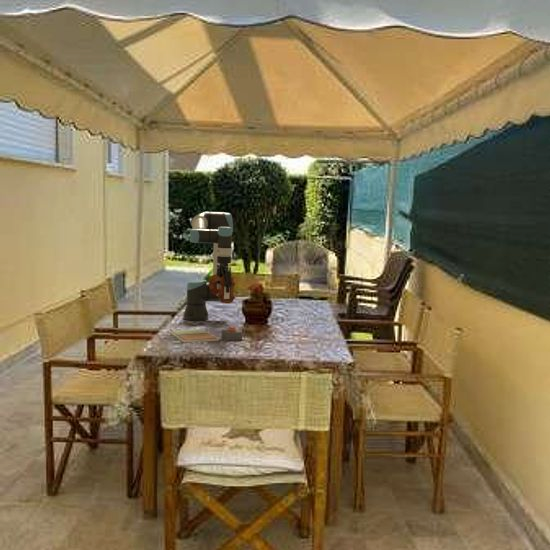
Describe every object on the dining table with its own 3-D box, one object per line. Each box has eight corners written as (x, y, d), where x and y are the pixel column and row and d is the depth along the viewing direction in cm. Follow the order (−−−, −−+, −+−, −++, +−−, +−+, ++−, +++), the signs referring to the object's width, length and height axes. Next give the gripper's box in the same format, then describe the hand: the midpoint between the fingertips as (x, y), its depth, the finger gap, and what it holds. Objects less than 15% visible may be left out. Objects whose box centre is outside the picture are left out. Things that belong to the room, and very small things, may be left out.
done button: (227, 333, 332) (227, 326, 332) (233, 332, 334) (233, 326, 334) (229, 334, 329) (230, 327, 329) (236, 334, 331) (236, 327, 330)
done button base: (221, 337, 334) (221, 329, 333) (235, 336, 337) (236, 329, 337) (227, 340, 327) (227, 332, 326) (241, 339, 330) (241, 331, 330)
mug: (237, 302, 344) (238, 275, 342) (232, 304, 336) (233, 276, 335) (211, 300, 348) (212, 273, 346) (206, 302, 340) (207, 274, 338)
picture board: (169, 332, 340) (169, 330, 340) (201, 330, 348) (201, 328, 348) (183, 342, 317) (183, 340, 317) (218, 340, 325) (218, 338, 325)
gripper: (210, 254, 346) (208, 294, 349) (225, 257, 326) (224, 300, 329) (222, 254, 350) (221, 294, 352) (239, 257, 330) (237, 300, 332)
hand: (222, 297), depth 340 cm, fingers closed on mug, 10 cm apart
